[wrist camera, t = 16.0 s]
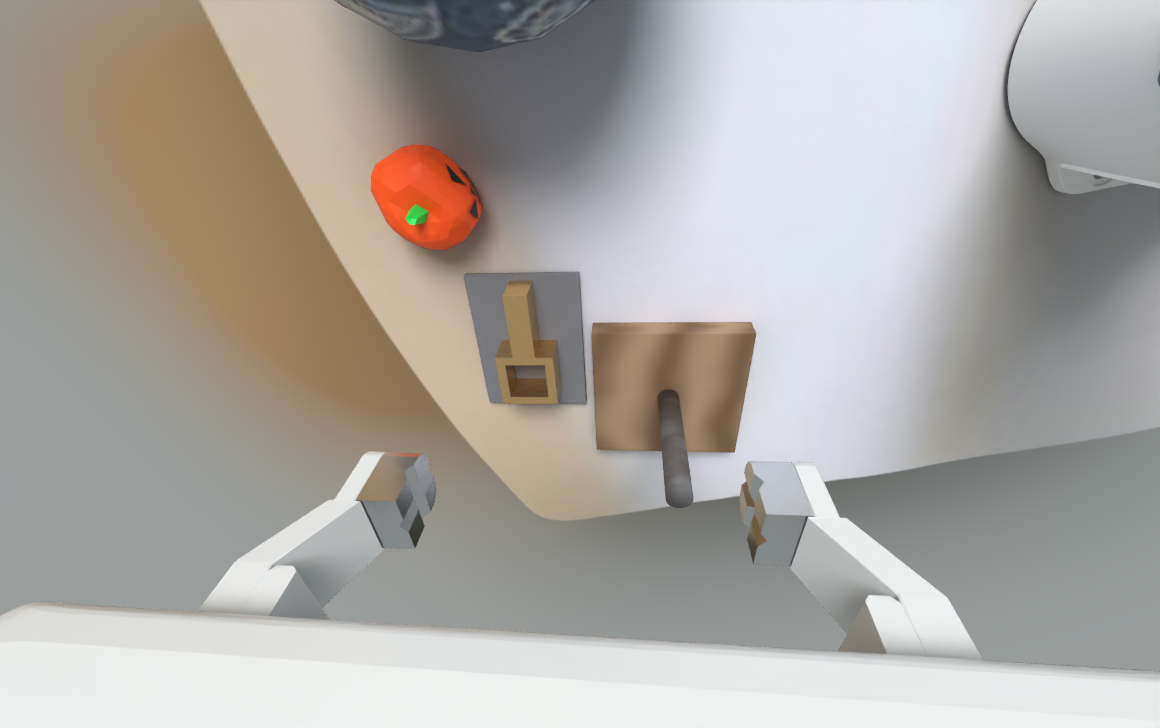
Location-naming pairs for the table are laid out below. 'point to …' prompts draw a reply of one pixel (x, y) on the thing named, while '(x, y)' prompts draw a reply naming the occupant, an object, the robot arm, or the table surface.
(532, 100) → the table surface
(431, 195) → the pumpkin
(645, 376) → the stand
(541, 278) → the mat
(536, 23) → the decorative ball
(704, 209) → the table surface
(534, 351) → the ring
